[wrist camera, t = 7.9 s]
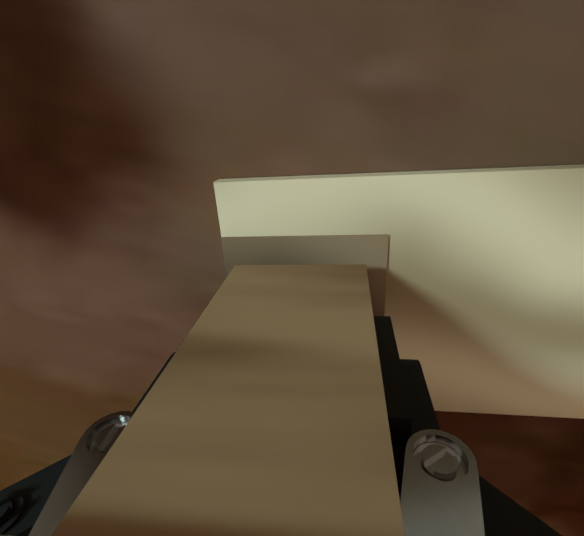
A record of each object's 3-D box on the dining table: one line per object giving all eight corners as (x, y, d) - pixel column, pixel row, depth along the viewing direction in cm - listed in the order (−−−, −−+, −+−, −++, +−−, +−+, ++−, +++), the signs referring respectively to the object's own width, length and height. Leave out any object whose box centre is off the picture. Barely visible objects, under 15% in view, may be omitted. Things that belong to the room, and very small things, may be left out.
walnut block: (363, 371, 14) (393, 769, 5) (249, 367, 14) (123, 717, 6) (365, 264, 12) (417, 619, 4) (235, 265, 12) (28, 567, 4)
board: (626, 409, 15) (639, 423, 14) (249, 391, 17) (245, 402, 16) (735, 158, 11) (760, 161, 10) (218, 179, 13) (212, 183, 12)
